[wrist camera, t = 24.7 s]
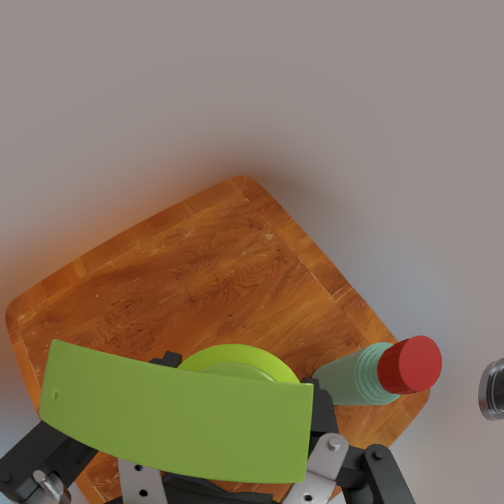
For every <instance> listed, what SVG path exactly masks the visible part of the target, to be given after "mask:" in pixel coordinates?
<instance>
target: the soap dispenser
mask: <svg viewBox="0 0 504 504" xmlns="http://www.w3.org/2000/svg"><path fill="white" fill-rule="evenodd" d="M313 388H314V384H311V383H300V382H299V380H298V379H297V377H296V376H295V374H294V373H293V372H292V370H291V369H290V368H289V367H288V366H287V365H286V364H285V363H284V362H282V361H281V360H280V359H278V358H277V357H275V356H274V355H272V354H270V353H268V352H266V351H264V350H262V349H259V348H256V347H252V346H248V345H241V344H224V345H217V346H213V347H209V348H206V349H204V350H201V351H199V352H197V353H195V354H193V355H192V356H190V357H189V358H187V359H186V360H185V361H184V362H182V363H181V364H180V365H179V366H178V367H177V368H172V367H167V366H162V365H157V364H152V363H147V362H143V361H138V360H133V359H129V358H125V357H120V356H116V355H112V354H108V353H104V352H100V351H96V350H92V349H88V348H84V347H81V346H77V345H74V344H70V343H67V342H63V341H60V340H56V339H53V340H52V342H51V345H50V350H49V354H48V359H47V363H46V369H45V374H44V379H43V385H42V392H41V399H40V408H39V417H40V419H42V420H43V421H44V422H46V423H47V424H49V425H50V426H52V427H54V428H55V429H57V430H59V431H61V432H62V433H64V434H66V435H68V436H70V437H71V438H73V439H75V440H77V441H79V442H81V443H83V444H86V445H88V446H90V447H92V448H94V449H97V450H99V451H102V452H104V453H107V454H109V455H112V456H114V457H117V458H120V459H123V460H126V461H129V462H132V463H136V464H139V465H142V466H146V467H150V468H154V469H158V470H162V471H166V472H171V473H176V474H181V475H186V476H192V477H198V478H205V479H213V480H221V481H232V482H246V483H303V482H304V480H305V474H306V466H307V457H308V448H309V438H310V427H311V416H312V403H313Z"/></svg>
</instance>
